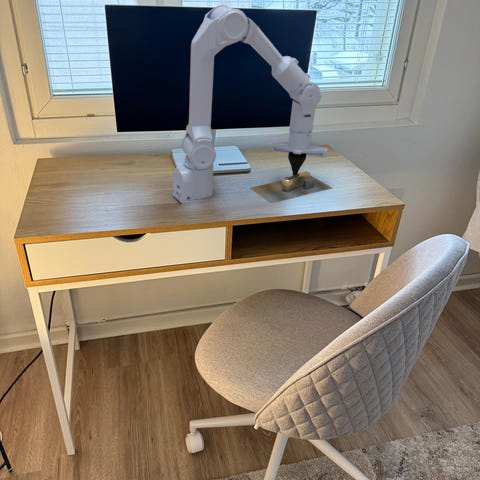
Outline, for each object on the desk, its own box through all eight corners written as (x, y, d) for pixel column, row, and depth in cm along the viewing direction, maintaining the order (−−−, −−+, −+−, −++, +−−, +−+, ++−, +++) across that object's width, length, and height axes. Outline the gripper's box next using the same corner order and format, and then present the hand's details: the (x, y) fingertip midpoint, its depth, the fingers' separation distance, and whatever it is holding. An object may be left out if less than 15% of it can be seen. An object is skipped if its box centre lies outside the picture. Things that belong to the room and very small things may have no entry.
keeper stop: (305, 189, 121) (306, 181, 119) (302, 188, 121) (303, 179, 120) (314, 187, 122) (315, 179, 121) (311, 186, 123) (312, 177, 122)
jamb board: (271, 207, 114) (271, 203, 113) (249, 192, 121) (249, 187, 120) (332, 192, 123) (333, 187, 122) (308, 178, 130) (309, 174, 130)
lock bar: (286, 191, 118) (288, 180, 117) (279, 188, 120) (280, 177, 118) (310, 183, 124) (311, 172, 122) (303, 179, 125) (304, 169, 124)
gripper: (270, 131, 114) (265, 181, 121) (329, 137, 112) (321, 188, 119) (274, 122, 120) (269, 171, 127) (330, 129, 118) (322, 178, 125)
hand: (294, 179), depth 124 cm, fingers closed, pressing on lock bar
